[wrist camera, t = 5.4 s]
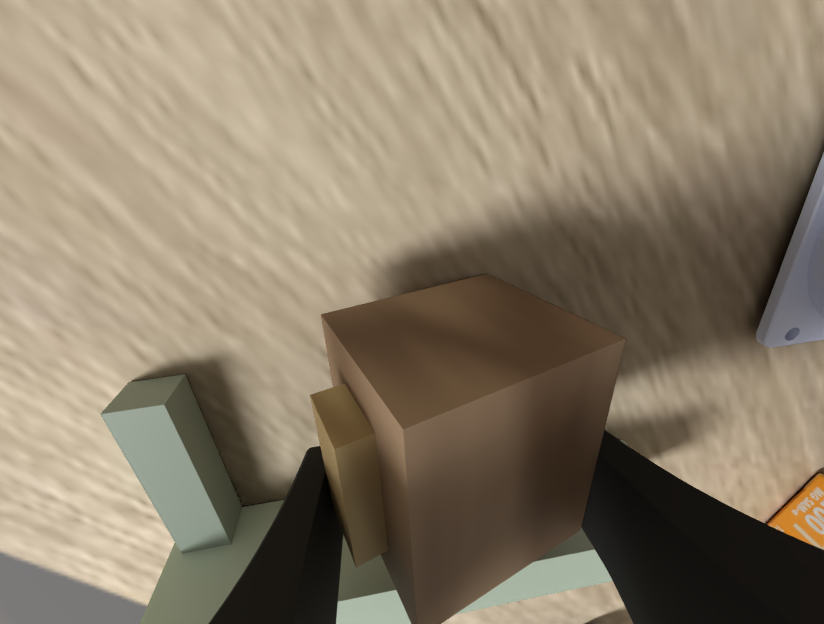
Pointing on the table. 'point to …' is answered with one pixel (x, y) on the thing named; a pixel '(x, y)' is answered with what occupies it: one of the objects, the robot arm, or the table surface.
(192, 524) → the green l-shaped block
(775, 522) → the supplement box
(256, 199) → the table surface
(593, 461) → the brown block
